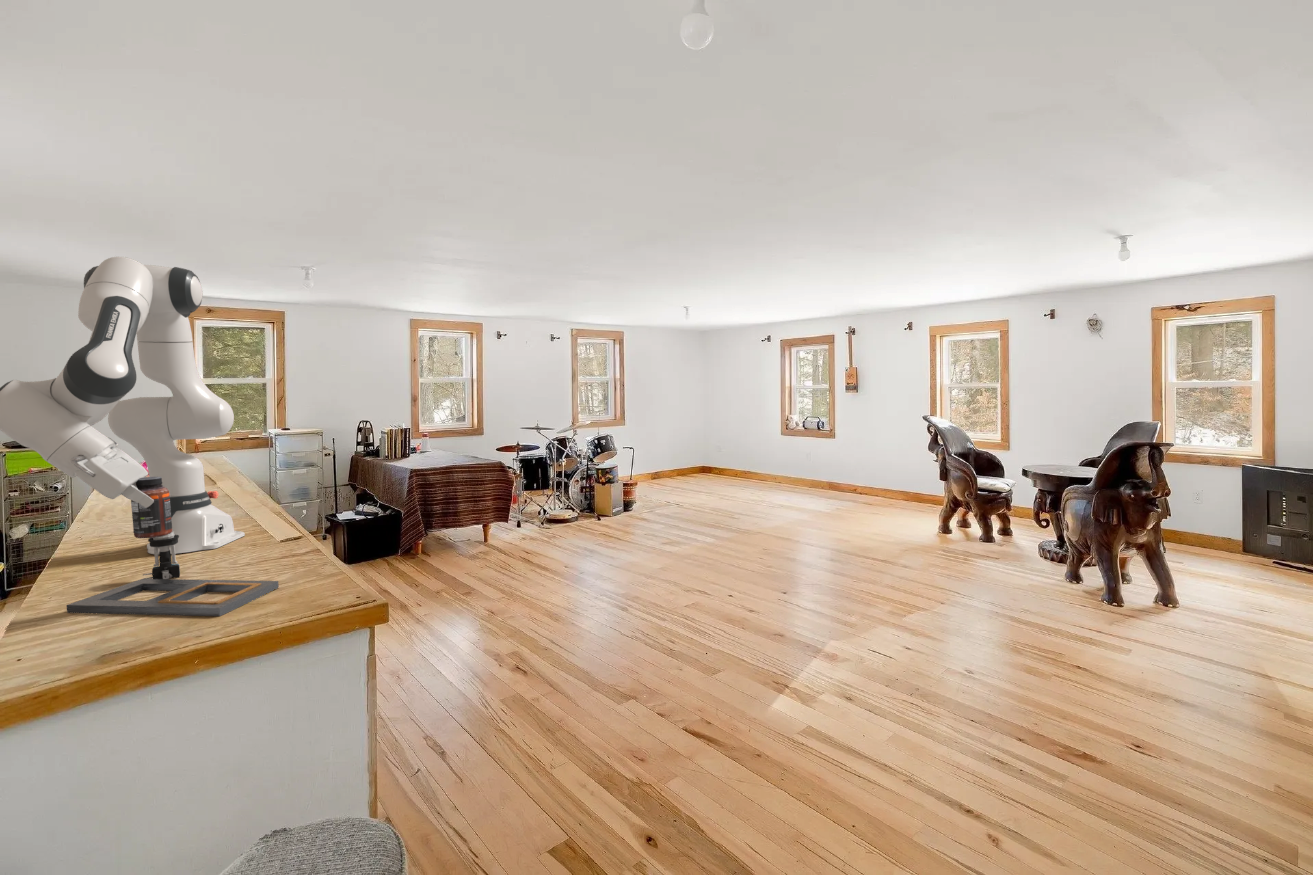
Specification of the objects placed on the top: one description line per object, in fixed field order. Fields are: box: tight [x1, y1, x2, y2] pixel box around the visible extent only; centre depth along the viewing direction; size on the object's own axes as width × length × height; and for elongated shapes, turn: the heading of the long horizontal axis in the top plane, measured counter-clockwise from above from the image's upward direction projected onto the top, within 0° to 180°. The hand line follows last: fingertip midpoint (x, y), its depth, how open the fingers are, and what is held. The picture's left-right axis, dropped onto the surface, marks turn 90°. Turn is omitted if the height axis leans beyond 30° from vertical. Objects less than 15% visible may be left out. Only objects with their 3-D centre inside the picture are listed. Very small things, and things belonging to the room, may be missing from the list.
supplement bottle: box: [130, 476, 172, 539], centre depth 124 cm, size 6×6×11 cm
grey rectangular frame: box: [66, 578, 280, 617], centre depth 125 cm, size 16×30×2 cm, turn 85°
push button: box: [142, 531, 181, 579], centre depth 139 cm, size 7×5×10 cm
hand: (155, 501), depth 124 cm, fingers closed on supplement bottle, 6 cm apart
